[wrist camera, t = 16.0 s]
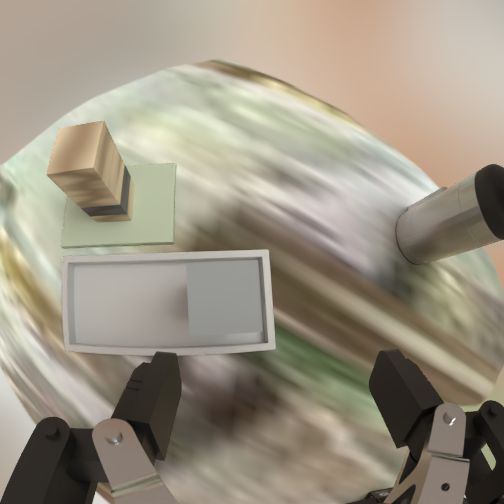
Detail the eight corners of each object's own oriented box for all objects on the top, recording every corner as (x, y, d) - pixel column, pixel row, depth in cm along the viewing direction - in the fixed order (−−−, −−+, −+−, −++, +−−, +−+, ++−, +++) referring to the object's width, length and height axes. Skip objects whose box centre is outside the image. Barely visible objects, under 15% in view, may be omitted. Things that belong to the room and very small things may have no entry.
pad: (64, 248, 31) (61, 246, 30) (74, 175, 33) (71, 172, 32) (174, 243, 34) (173, 241, 33) (176, 166, 36) (175, 163, 35)
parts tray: (75, 348, 29) (65, 350, 26) (73, 260, 31) (63, 256, 28) (269, 345, 33) (275, 349, 30) (263, 254, 35) (268, 249, 32)
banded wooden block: (97, 222, 31) (46, 175, 18) (101, 187, 32) (59, 129, 19) (132, 220, 32) (93, 167, 19) (135, 184, 33) (104, 120, 20)
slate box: (197, 324, 31) (189, 335, 18) (194, 282, 32) (186, 262, 19) (239, 322, 32) (262, 331, 18) (236, 280, 33) (257, 260, 19)
